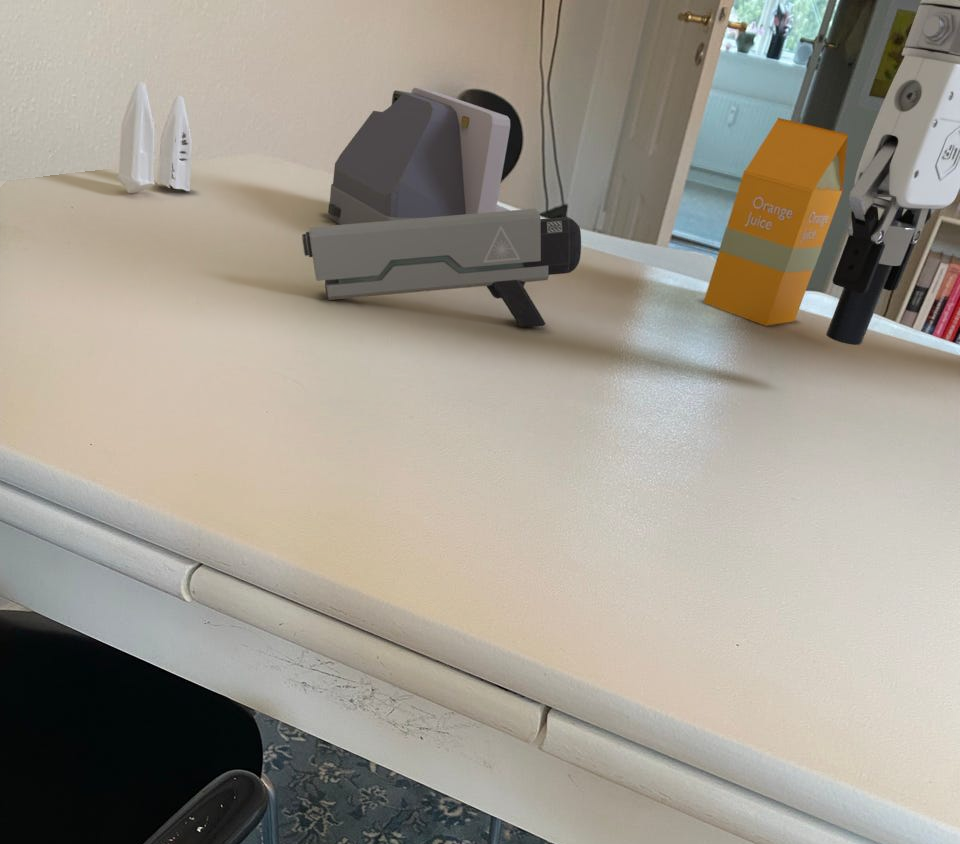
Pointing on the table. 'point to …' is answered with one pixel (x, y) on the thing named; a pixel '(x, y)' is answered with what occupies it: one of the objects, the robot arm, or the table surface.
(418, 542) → the table surface
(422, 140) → the instant camera
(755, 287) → the orange juice
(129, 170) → the shaker set
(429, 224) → the gun
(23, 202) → the table surface
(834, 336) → the torch
